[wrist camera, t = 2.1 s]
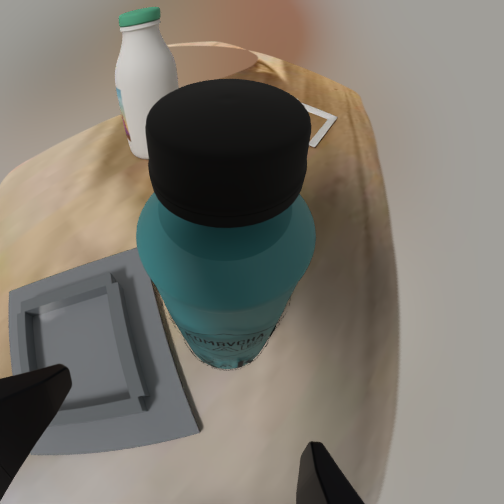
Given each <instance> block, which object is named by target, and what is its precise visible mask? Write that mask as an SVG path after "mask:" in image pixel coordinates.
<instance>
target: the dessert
mask: <svg viewBox="0 0 504 504" xmlns="http://www.w3.org/2000/svg"><path fill="white" fill-rule="evenodd" d="M297 100H298V99H297ZM302 104H303V103H302ZM303 106H304V107H305V108H306V110H307V111H308V112H311V113H313V114H316V115H318V116H321V117H323V118H326V119H328V120H327V121H326V123H325V124H324V125H323V126H322V127H321V129H320V130H319V131H318V132H317V134H316V135H315V136H314V137H313V138H312V140H311V141H310V142H309V145H310V146H312V147H315V146H316V145H317V144H318V143H319V141H320V140H321V139H322V137H323V136H324V135H325V133H326V132H327V131H328V129H329V128H330V127H331V126H332V124H333V123H334V122H335V120H336V119H337V118H338V117H336V116H334V115H332V114H329V113H327V112H324V111H322V110H319V109H317V108H314V107H311V106H309V105H306V104H303Z"/></svg>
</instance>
